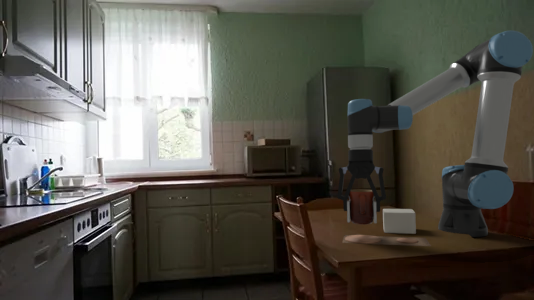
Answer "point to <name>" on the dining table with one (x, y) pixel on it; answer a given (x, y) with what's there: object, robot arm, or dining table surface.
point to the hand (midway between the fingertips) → (361, 221)
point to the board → (385, 240)
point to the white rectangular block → (399, 221)
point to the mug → (361, 206)
